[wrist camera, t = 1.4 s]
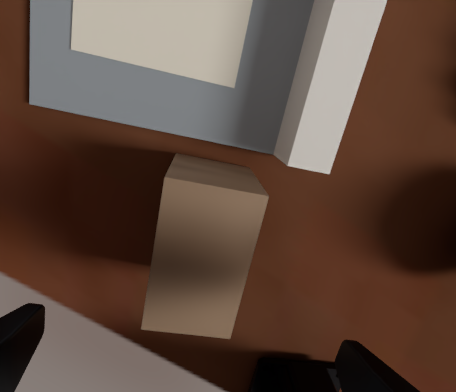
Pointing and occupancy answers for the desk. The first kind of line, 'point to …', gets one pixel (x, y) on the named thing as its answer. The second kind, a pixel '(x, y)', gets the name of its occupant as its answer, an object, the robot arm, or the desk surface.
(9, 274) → the desk surface
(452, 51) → the desk surface
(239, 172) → the walnut block
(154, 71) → the corner arena
